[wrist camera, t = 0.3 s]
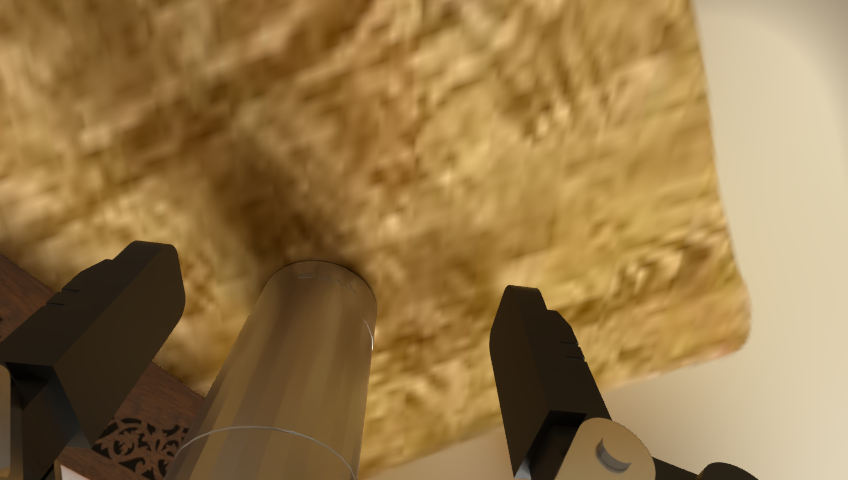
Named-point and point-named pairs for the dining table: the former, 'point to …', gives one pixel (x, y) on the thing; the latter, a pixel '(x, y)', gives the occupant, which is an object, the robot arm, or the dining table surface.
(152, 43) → the dining table surface
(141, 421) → the tissue box cover
